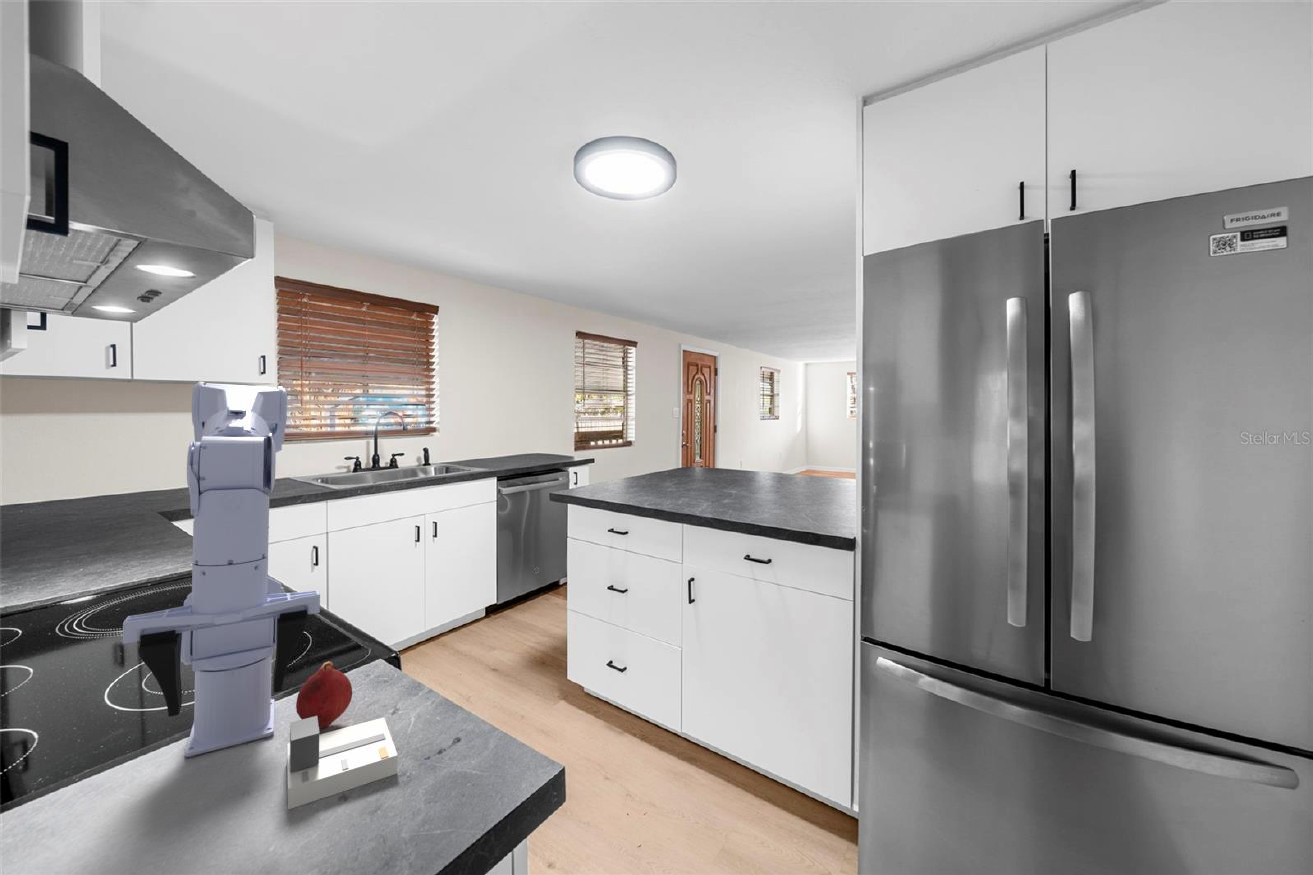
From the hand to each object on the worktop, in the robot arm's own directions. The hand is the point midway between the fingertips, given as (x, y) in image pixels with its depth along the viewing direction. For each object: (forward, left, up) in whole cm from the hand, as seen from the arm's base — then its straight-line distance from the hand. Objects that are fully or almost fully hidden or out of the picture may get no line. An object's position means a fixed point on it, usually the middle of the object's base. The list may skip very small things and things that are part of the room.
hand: (228, 699), depth 50 cm
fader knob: (-1, +6, -8) cm, 10 cm away
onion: (-11, +9, -11) cm, 17 cm away
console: (-1, +10, -10) cm, 14 cm away
